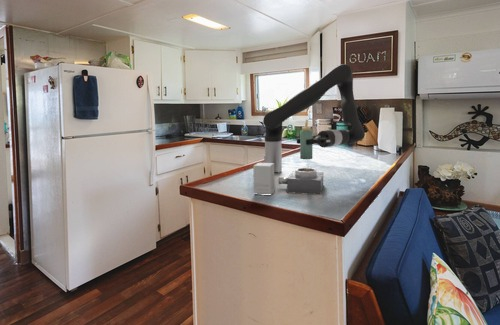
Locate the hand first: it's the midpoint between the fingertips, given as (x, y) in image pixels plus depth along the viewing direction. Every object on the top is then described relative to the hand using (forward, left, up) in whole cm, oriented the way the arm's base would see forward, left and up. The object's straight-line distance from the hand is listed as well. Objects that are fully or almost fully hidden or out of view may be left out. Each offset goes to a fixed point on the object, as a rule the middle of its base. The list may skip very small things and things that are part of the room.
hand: (301, 141), depth 132 cm
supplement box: (-14, -9, -21) cm, 27 cm away
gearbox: (-1, +2, -21) cm, 21 cm away
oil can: (+2, +2, -7) cm, 8 cm away
